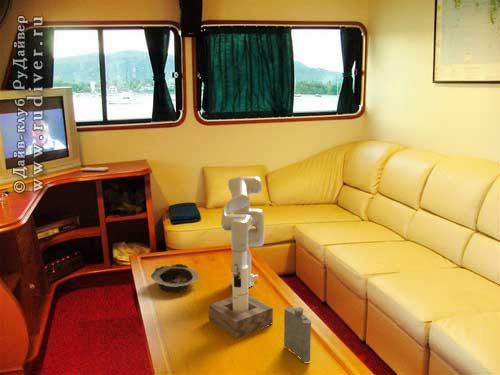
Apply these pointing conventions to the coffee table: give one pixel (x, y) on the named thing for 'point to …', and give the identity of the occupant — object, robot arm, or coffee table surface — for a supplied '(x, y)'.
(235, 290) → the cylindrical container
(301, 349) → the hip flask
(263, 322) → the walnut well block
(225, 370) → the coffee table surface
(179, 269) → the stone bowl
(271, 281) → the coffee table surface
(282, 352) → the coffee table surface
